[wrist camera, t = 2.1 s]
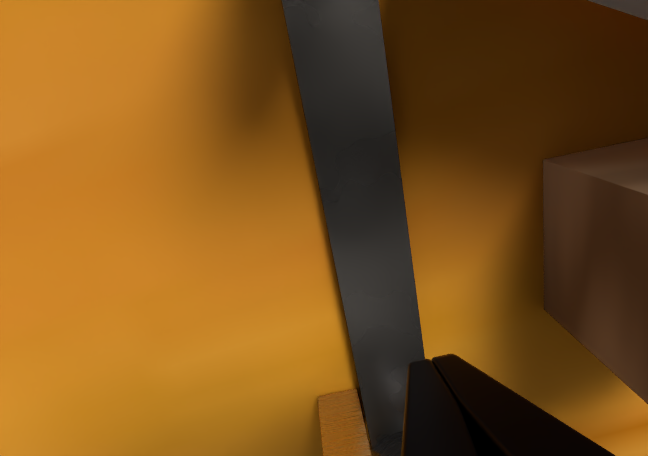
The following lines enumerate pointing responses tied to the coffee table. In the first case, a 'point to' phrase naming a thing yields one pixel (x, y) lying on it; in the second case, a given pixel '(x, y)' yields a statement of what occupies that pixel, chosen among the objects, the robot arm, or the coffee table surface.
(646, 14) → the grey block
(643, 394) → the walnut block
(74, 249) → the coffee table surface
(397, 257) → the dark grey long piece
